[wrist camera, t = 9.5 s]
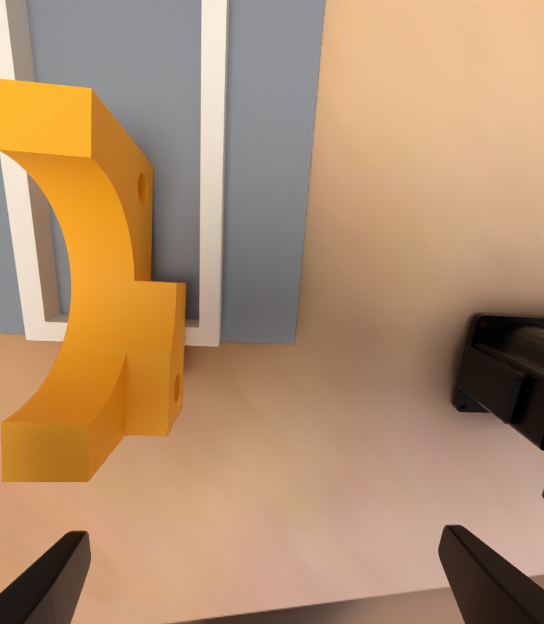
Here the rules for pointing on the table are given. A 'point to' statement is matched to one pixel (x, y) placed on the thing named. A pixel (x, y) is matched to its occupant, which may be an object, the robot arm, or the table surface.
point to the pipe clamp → (93, 289)
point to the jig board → (177, 152)
